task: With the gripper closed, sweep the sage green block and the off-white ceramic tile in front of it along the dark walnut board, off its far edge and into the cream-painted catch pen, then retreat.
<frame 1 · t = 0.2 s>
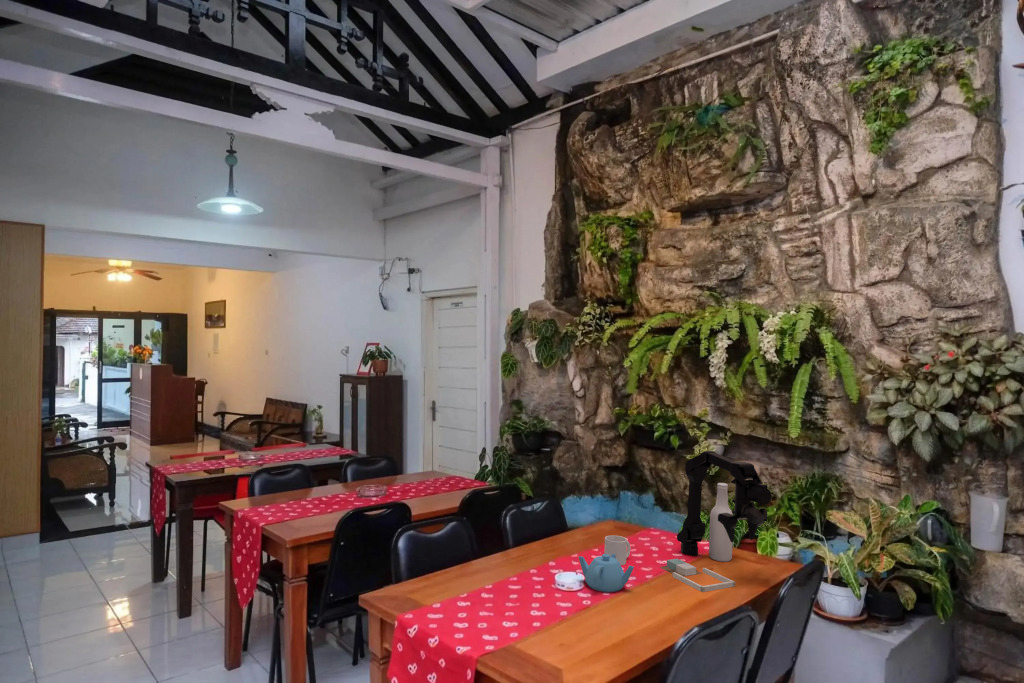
hand: (741, 540, 226), 14 cm above the table, fingers open, 9 cm apart
alcohol: (720, 558, 251), on the table
white tile: (685, 572, 228), point 1 cm above the table, touching board
teapot: (605, 586, 217), on the table
mug: (618, 565, 239), on the table
sage green block: (676, 568, 233), point 1 cm above the table, touching board
catch pen: (703, 585, 220), on the table
board: (680, 574, 231), on the table
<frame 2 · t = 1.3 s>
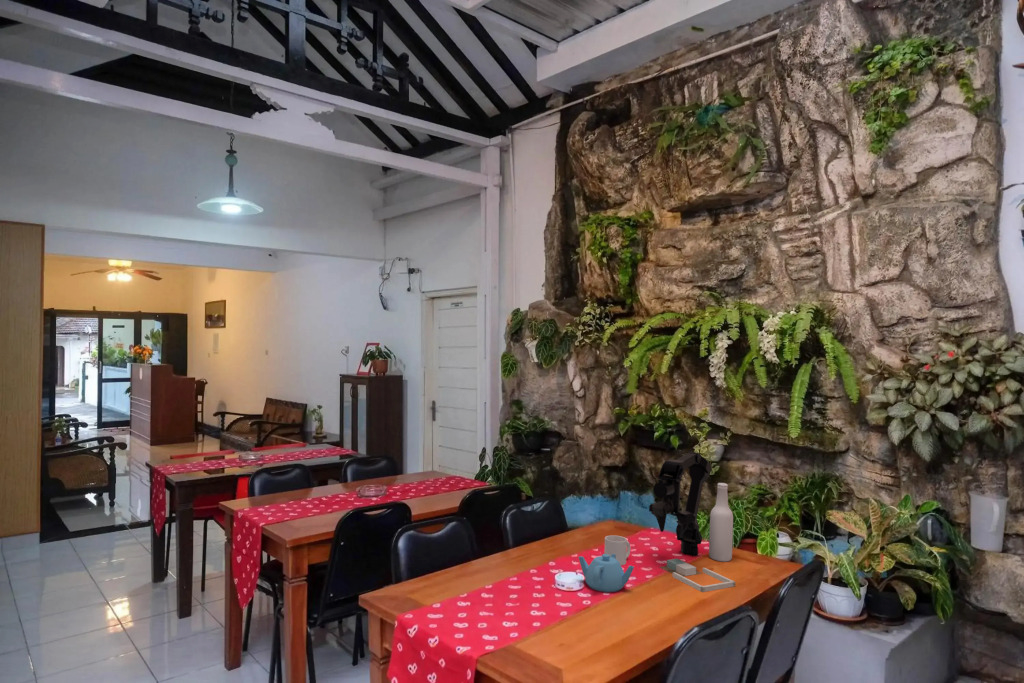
hand: (670, 534, 238), 12 cm above the table, fingers open, 9 cm apart
nothing on the table moved.
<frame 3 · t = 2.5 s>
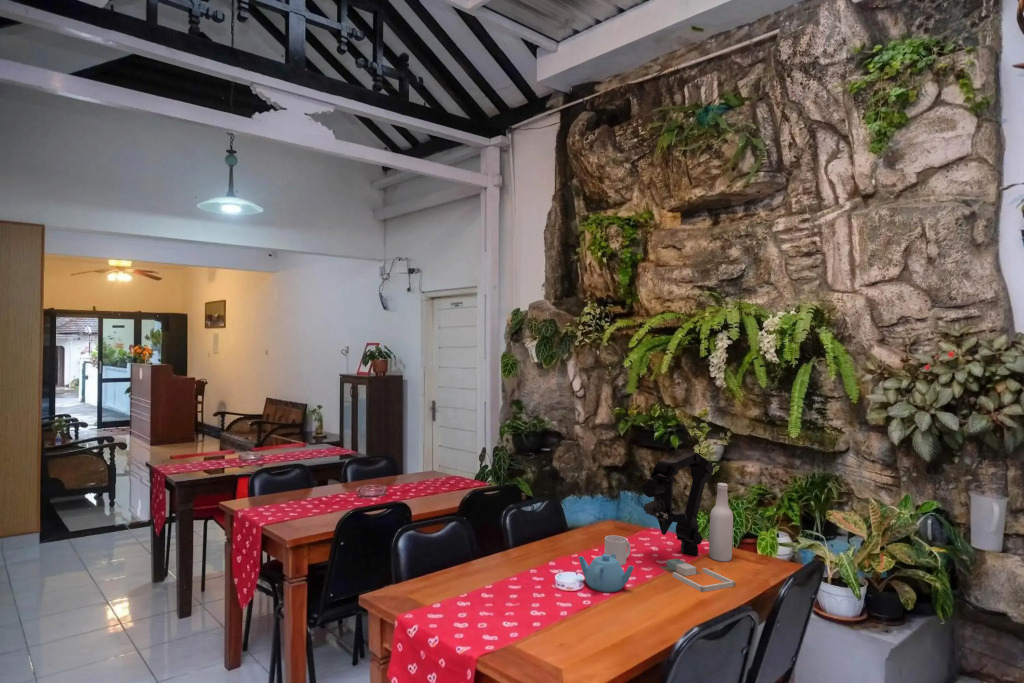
hand: (663, 534, 240), 12 cm above the table, fingers closed
nothing on the table moved.
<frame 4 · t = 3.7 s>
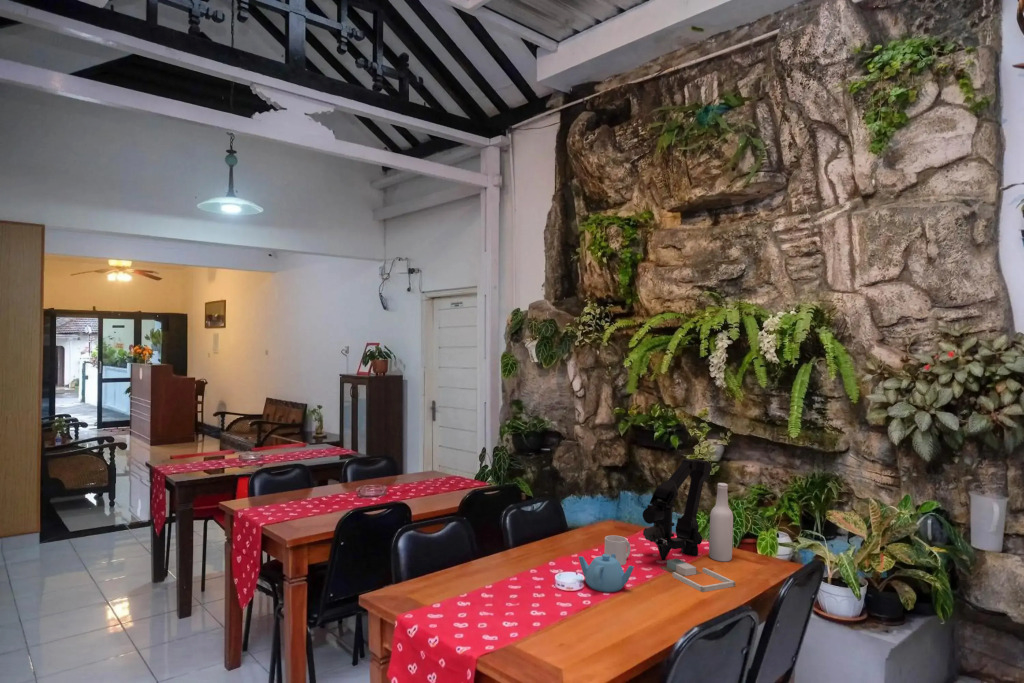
hand: (663, 560, 240), 2 cm above the table, fingers closed
nothing on the table moved.
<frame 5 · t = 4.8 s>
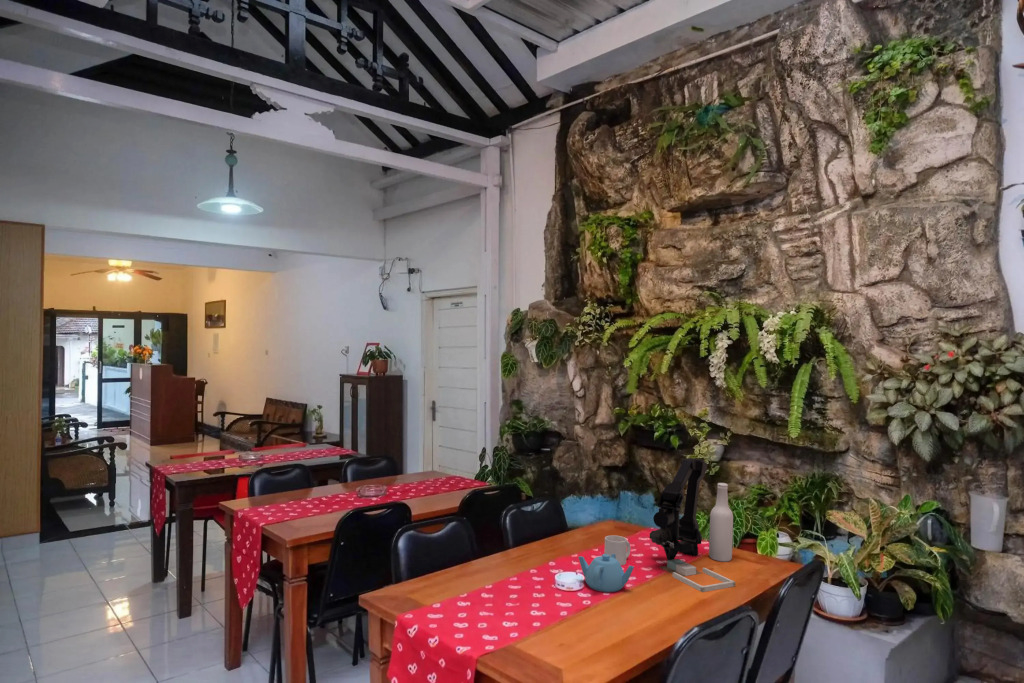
hand: (669, 563, 236), 2 cm above the table, fingers closed
sage green block: (676, 568, 233), point 1 cm above the table, touching board, gripper
everything else where it was.
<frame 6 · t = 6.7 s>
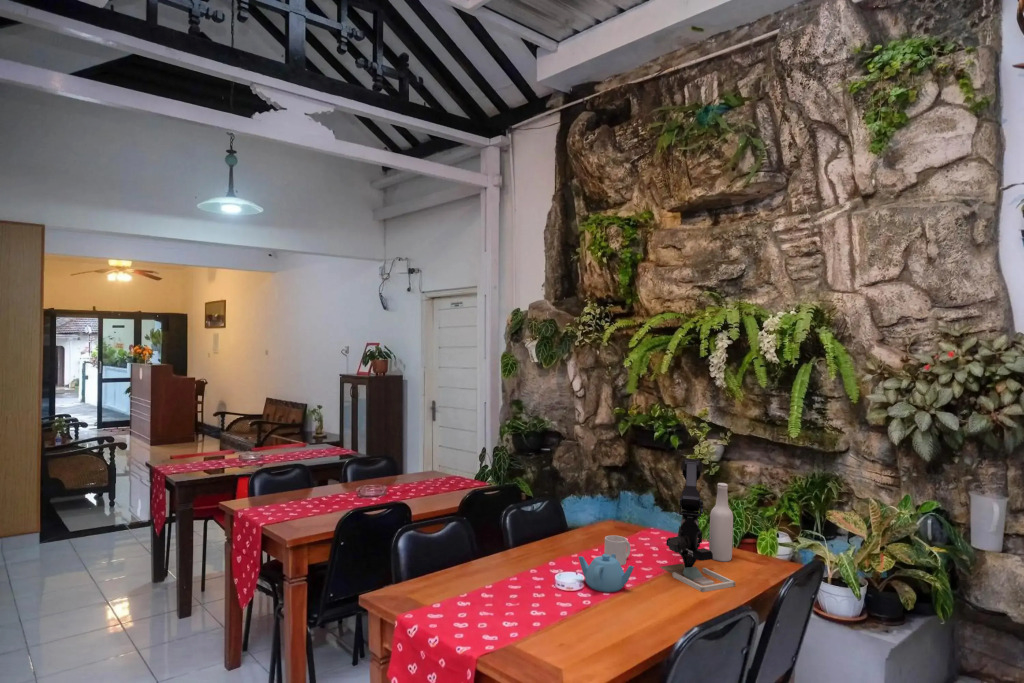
hand: (688, 571, 227), 2 cm above the table, fingers closed
white tile: (703, 587, 219), on the table
sage green block: (692, 577, 225), point 1 cm above the table, tilted 27°, touching gripper
everything else where it was.
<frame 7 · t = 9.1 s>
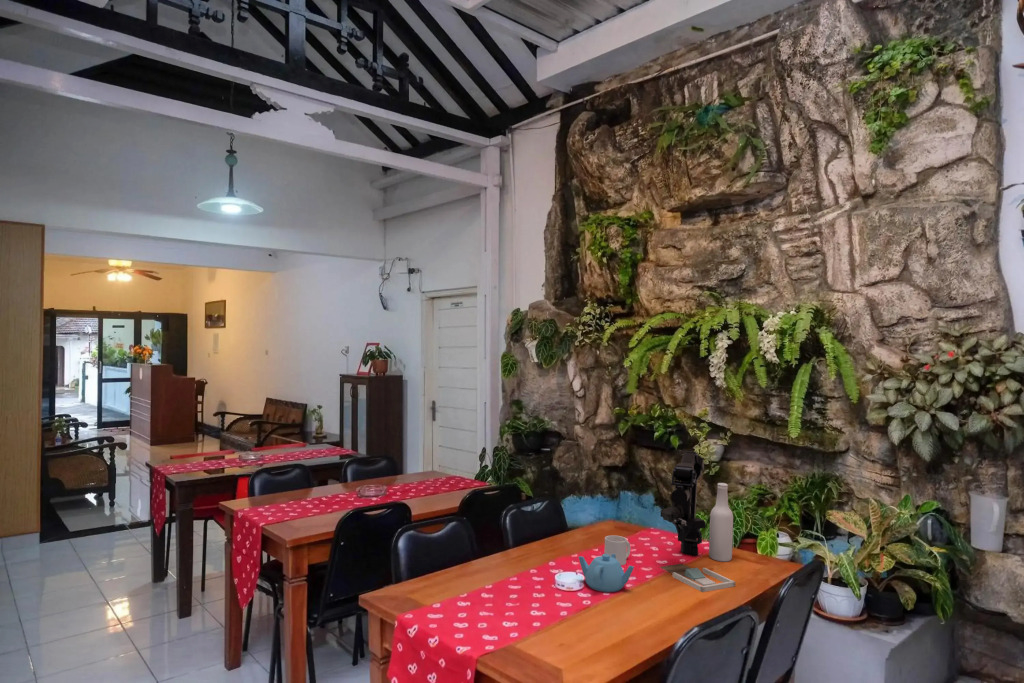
hand: (681, 541, 232), 12 cm above the table, fingers closed
sage green block: (694, 578, 224), point 1 cm above the table, tilted 20°, touching board
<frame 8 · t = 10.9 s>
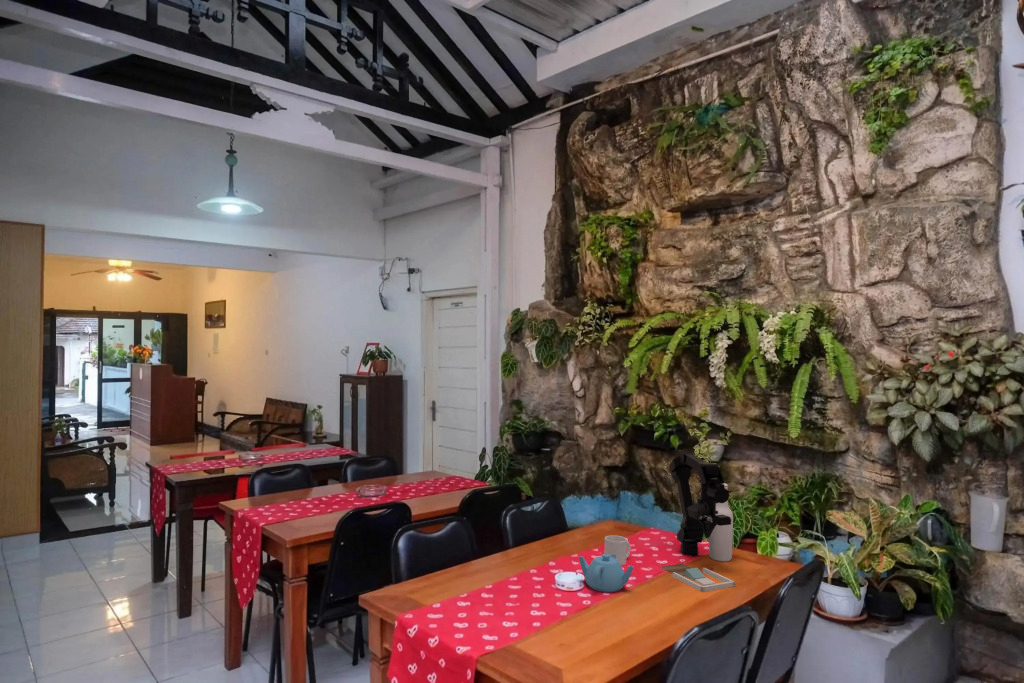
hand: (707, 537, 237), 12 cm above the table, fingers closed
nothing on the table moved.
at the end: sage green block inside the target area on the catch pen (5.5 cm from its centre), point 0.9 cm above the catch pen's base; white tile inside the target area on the catch pen (0.6 cm from its centre), point 0.0 cm above the catch pen's base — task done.
